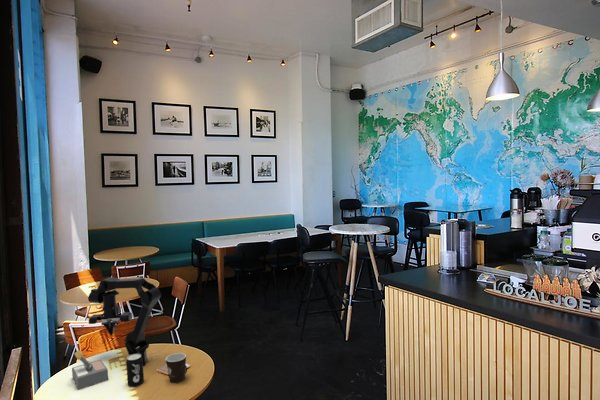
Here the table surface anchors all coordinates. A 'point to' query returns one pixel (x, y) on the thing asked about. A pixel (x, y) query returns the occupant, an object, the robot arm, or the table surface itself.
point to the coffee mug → (176, 367)
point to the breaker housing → (89, 374)
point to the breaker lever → (83, 359)
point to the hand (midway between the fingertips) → (111, 334)
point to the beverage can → (135, 370)
